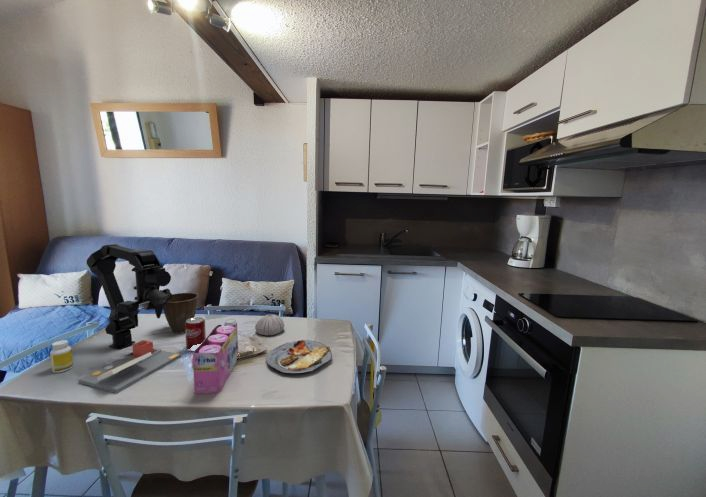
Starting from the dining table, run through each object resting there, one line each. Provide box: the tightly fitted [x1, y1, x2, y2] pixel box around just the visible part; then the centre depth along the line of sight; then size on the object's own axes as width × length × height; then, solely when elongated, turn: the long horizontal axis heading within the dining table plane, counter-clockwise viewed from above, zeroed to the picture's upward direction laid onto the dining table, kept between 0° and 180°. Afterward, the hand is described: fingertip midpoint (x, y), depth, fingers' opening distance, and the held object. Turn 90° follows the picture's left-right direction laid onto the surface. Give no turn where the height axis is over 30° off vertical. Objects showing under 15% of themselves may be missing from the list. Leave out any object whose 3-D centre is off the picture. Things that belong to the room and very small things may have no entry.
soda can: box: [184, 316, 207, 350], centre depth 123 cm, size 7×7×12 cm
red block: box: [131, 339, 154, 357], centre depth 114 cm, size 4×4×6 cm
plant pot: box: [162, 292, 199, 334], centre depth 140 cm, size 15×15×16 cm
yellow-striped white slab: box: [97, 352, 152, 381], centre depth 101 cm, size 8×13×1 cm, turn 163°
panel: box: [77, 349, 182, 394], centre depth 107 cm, size 17×24×3 cm
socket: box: [124, 347, 162, 363], centre depth 114 cm, size 8×8×1 cm
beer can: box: [223, 318, 238, 327], centre depth 123 cm, size 5×5×12 cm
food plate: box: [265, 339, 333, 374], centre depth 117 cm, size 25×23×4 cm
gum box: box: [192, 324, 239, 394], centre depth 106 cm, size 24×8×14 cm, turn 6°
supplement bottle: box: [49, 339, 74, 374], centre depth 105 cm, size 5×5×10 cm
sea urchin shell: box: [254, 314, 285, 336], centre depth 142 cm, size 13×14×8 cm
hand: (147, 322), depth 118 cm, fingers open, 9 cm apart
